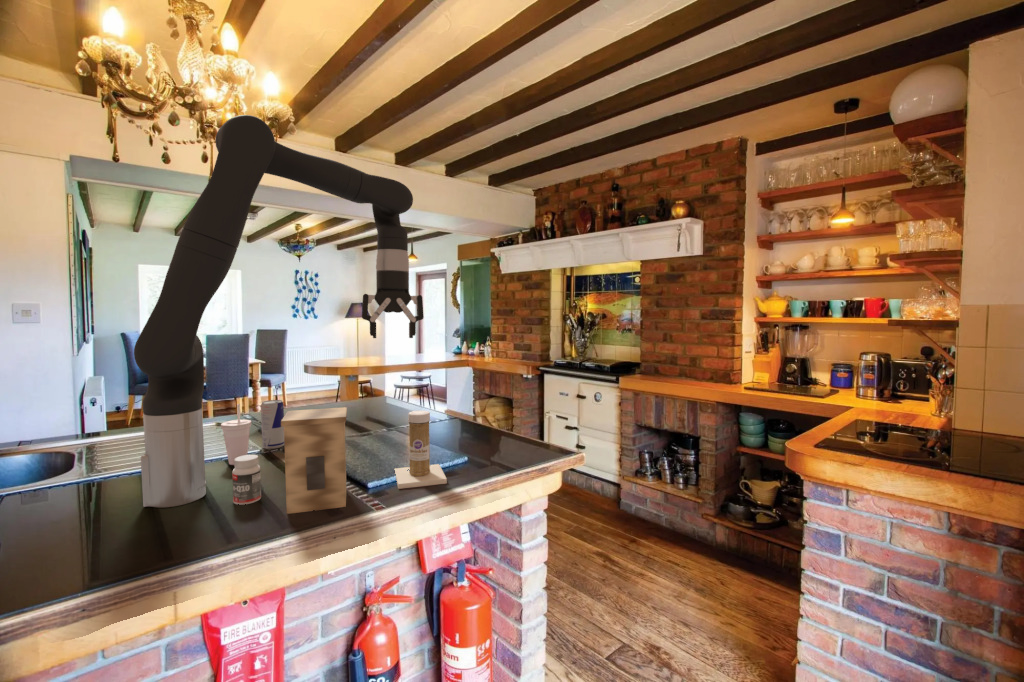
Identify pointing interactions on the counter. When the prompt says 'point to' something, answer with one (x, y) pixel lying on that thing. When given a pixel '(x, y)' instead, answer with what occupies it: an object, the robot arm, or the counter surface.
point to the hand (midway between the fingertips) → (393, 337)
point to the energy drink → (272, 424)
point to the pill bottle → (246, 480)
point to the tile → (419, 477)
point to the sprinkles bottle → (419, 443)
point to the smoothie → (236, 437)
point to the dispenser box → (315, 459)
